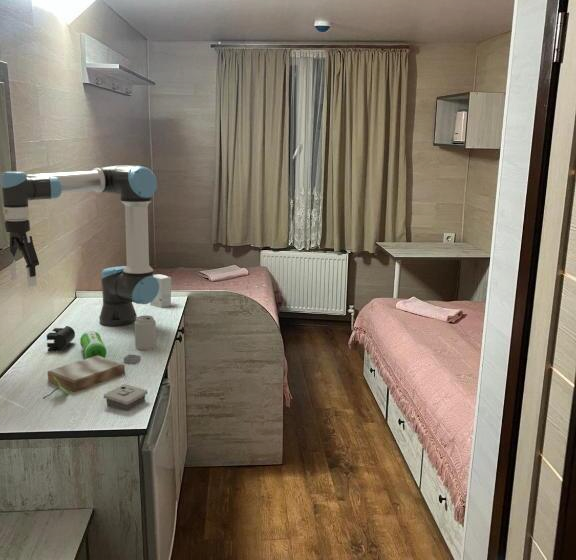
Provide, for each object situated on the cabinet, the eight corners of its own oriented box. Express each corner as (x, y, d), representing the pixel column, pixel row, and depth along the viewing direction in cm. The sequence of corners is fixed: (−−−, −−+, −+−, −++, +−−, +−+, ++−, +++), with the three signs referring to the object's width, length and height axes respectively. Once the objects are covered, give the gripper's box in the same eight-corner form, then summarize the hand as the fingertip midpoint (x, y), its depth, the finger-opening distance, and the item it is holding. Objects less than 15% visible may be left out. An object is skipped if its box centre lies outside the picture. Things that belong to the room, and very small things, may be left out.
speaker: (80, 349, 228) (79, 330, 226) (100, 347, 230) (99, 328, 229) (85, 366, 212) (84, 345, 210) (107, 363, 215) (106, 342, 213)
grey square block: (130, 361, 217) (129, 354, 217) (140, 362, 216) (140, 355, 216) (124, 365, 214) (123, 358, 213) (134, 366, 213) (134, 359, 212)
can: (160, 348, 230) (159, 317, 227) (143, 353, 224) (142, 321, 222) (148, 343, 235) (147, 313, 232) (131, 348, 229) (130, 317, 227)
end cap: (66, 352, 225) (65, 334, 223) (47, 351, 225) (45, 333, 223) (75, 343, 234) (74, 325, 233) (56, 342, 234) (55, 325, 233)
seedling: (56, 413, 185) (74, 398, 187) (41, 399, 180) (60, 384, 182) (46, 399, 190) (64, 385, 192) (32, 386, 184) (50, 371, 186)
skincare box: (150, 307, 284) (148, 275, 281) (160, 304, 289) (159, 273, 285) (162, 310, 279) (161, 278, 276) (172, 307, 284) (171, 276, 280)
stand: (98, 365, 212) (98, 354, 211) (124, 375, 204) (124, 364, 203) (48, 381, 198) (47, 370, 197) (74, 393, 189) (73, 381, 188)
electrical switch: (123, 383, 187) (147, 384, 183) (126, 400, 188) (150, 401, 184) (101, 394, 179) (125, 396, 175) (104, 411, 180) (128, 413, 175)
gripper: (-12, 216, 208) (-7, 278, 213) (24, 224, 193) (29, 290, 198) (9, 214, 214) (14, 275, 219) (47, 222, 198) (51, 286, 203)
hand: (22, 282), depth 208 cm, fingers open, 13 cm apart
